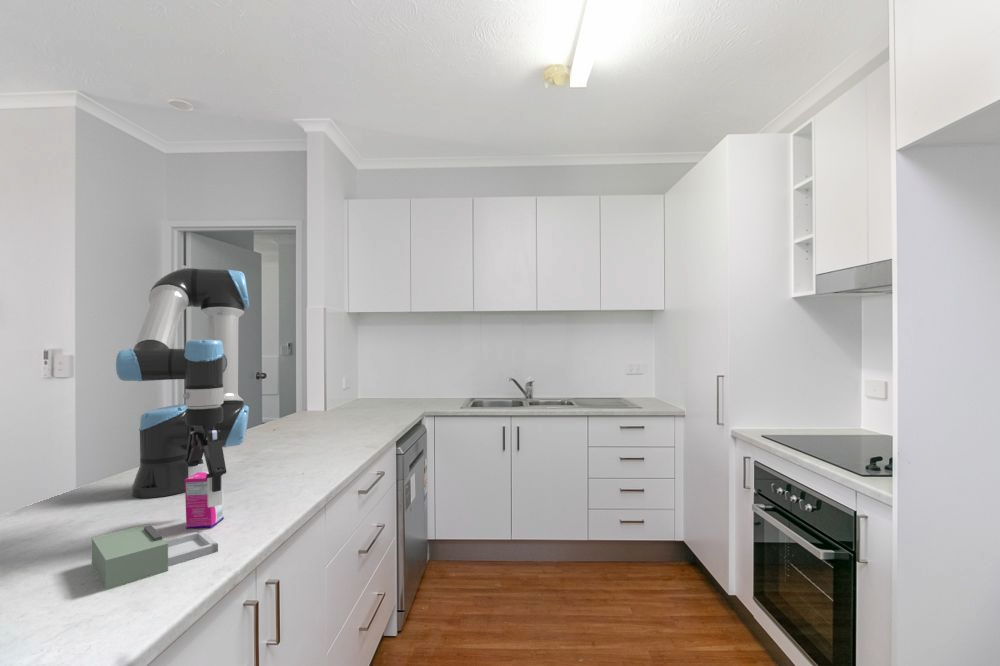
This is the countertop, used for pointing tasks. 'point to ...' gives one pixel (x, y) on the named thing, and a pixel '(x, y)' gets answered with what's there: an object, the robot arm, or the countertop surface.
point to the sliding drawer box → (143, 553)
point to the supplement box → (200, 504)
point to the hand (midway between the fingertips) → (204, 499)
